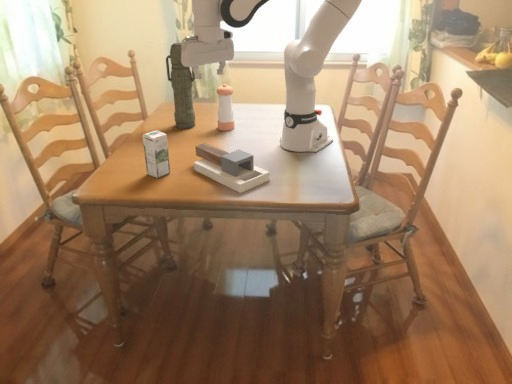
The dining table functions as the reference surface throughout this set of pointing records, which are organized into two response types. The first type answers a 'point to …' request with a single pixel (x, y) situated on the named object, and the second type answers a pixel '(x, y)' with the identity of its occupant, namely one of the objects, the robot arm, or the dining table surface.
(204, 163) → the board
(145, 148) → the syrup box
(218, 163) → the bar
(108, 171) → the dining table surface
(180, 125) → the thermos
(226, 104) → the pepper shaker
